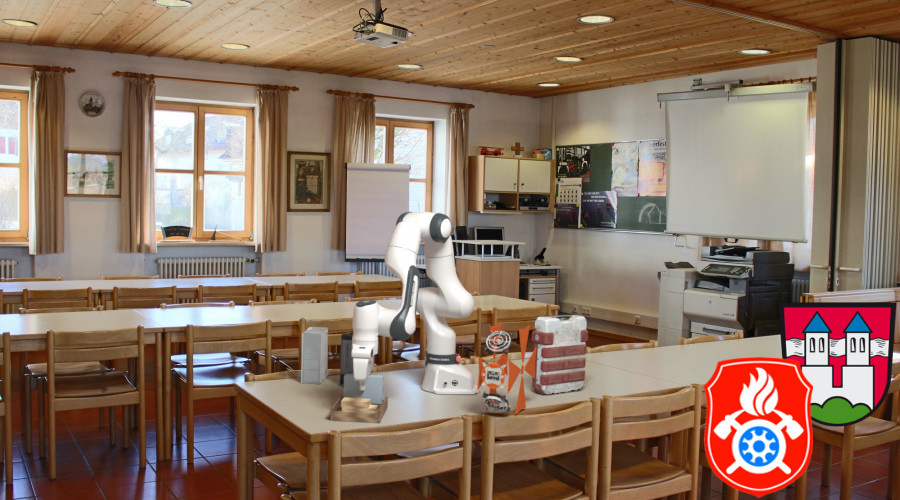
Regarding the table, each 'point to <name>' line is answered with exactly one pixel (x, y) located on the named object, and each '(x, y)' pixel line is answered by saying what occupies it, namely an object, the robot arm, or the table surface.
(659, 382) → the table surface
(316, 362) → the hard drive box
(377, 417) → the wooden tray
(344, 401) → the offcut stack
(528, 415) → the table surface
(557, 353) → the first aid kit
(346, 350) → the electronic device
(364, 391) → the blue-grey flat box
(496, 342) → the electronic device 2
